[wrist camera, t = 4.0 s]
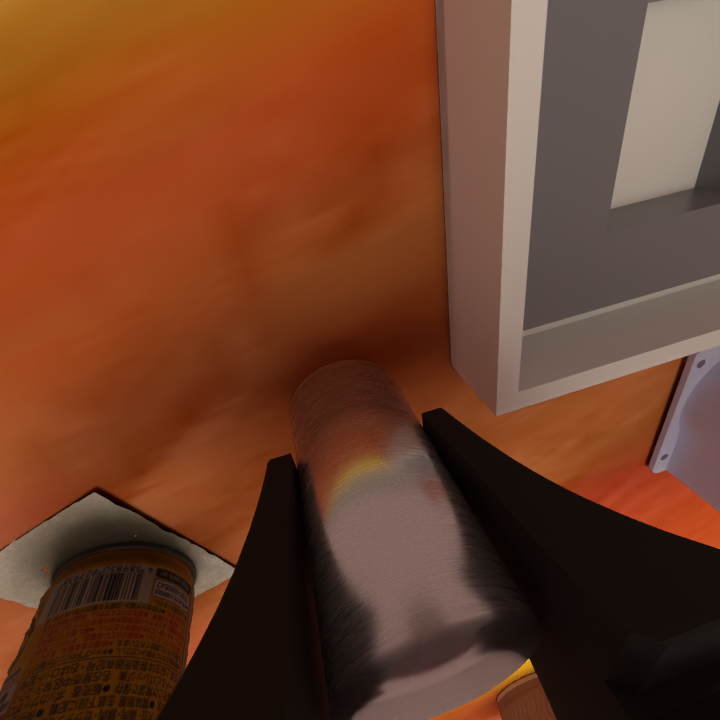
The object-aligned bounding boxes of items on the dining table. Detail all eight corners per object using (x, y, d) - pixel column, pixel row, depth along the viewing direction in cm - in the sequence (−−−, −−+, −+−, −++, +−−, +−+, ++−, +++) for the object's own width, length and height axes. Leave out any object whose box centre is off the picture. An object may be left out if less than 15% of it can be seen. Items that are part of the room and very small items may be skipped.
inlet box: (724, 285, 18) (818, 314, 15) (451, 366, 16) (496, 416, 13) (957, -326, 9) (1289, -545, 6) (422, -290, 7) (533, -567, 5)
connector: (404, 432, 15) (532, 677, 8) (305, 462, 14) (353, 750, 8) (392, 345, 13) (552, 581, 6) (275, 378, 12) (303, 675, 5)
